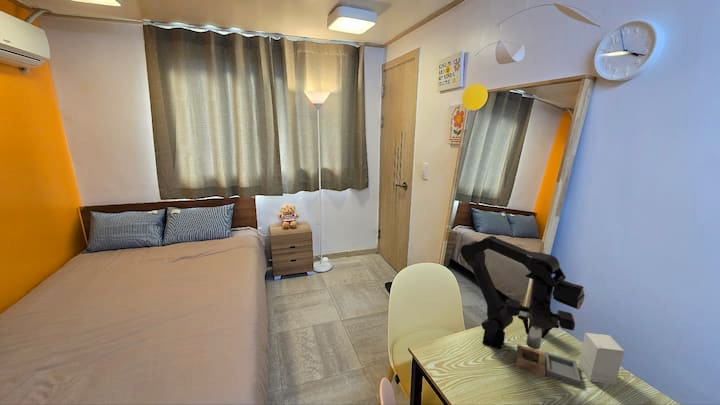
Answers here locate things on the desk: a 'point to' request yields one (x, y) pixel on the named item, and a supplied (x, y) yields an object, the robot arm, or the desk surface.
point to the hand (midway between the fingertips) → (534, 335)
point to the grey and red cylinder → (534, 336)
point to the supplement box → (600, 358)
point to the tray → (562, 368)
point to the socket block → (529, 365)
